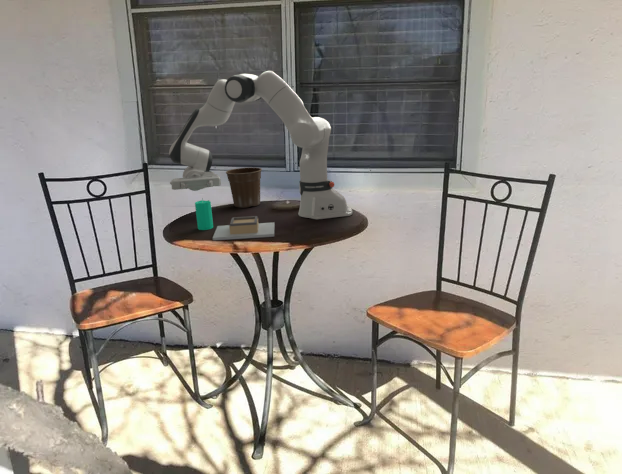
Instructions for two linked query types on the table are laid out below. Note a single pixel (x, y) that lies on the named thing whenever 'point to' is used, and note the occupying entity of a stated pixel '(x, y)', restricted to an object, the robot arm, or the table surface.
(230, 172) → the plant pot
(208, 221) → the candle
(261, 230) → the board
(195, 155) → the robot arm
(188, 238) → the table surface
